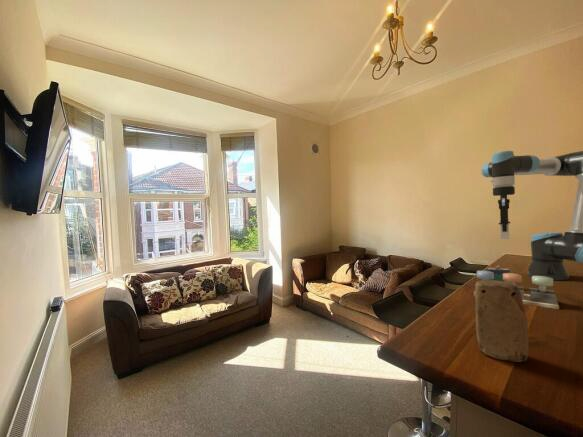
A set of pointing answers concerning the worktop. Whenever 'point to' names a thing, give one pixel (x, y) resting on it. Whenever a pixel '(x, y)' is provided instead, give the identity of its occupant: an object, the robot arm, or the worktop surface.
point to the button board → (527, 301)
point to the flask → (498, 273)
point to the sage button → (542, 282)
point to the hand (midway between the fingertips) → (505, 238)
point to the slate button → (485, 275)
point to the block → (501, 321)
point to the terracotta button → (512, 278)
